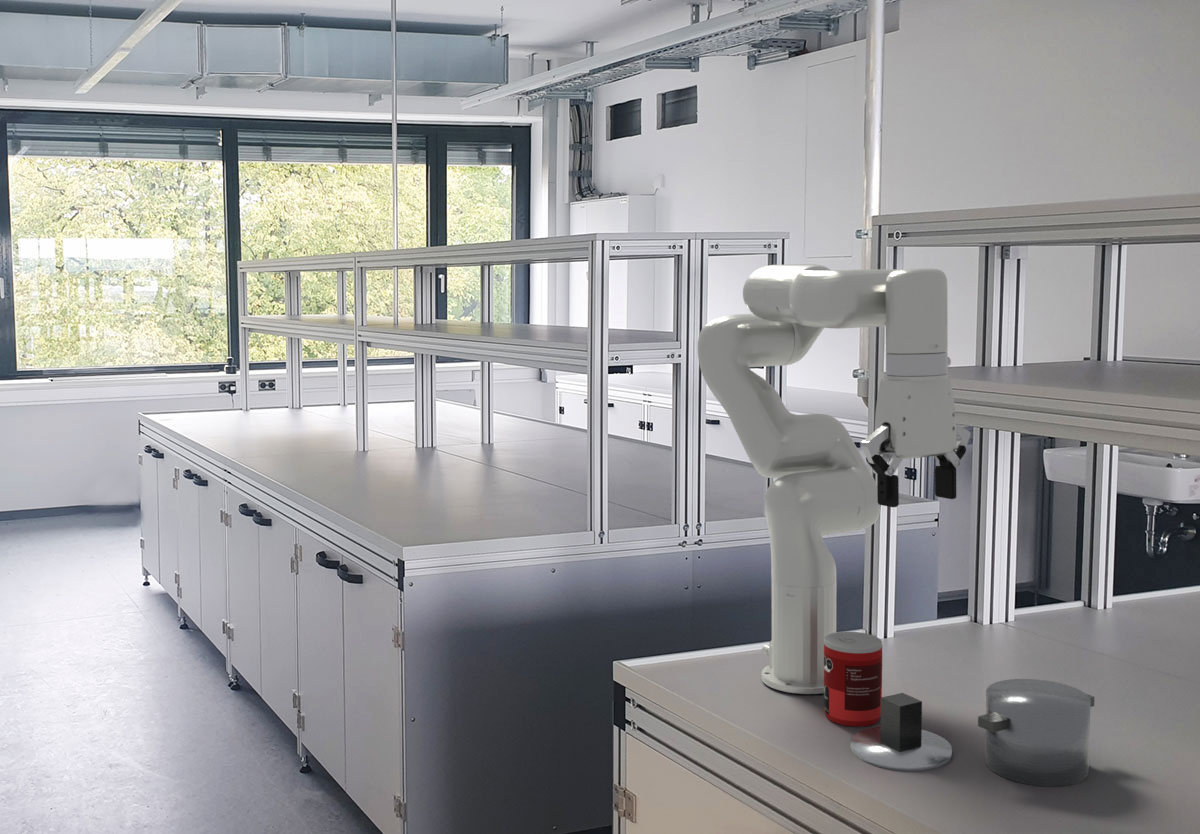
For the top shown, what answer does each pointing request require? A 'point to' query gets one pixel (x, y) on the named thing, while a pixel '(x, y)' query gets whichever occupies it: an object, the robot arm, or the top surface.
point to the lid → (901, 738)
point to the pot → (1037, 732)
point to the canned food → (852, 678)
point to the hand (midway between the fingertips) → (917, 501)
